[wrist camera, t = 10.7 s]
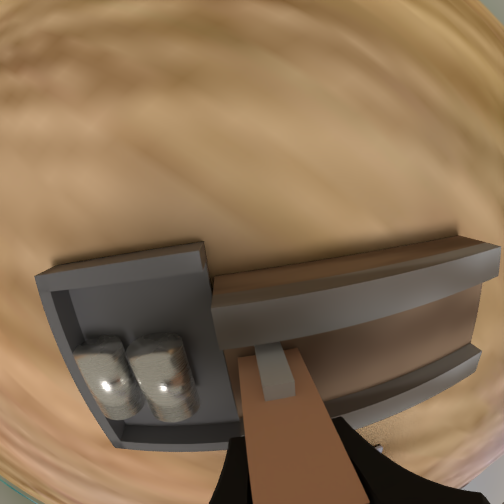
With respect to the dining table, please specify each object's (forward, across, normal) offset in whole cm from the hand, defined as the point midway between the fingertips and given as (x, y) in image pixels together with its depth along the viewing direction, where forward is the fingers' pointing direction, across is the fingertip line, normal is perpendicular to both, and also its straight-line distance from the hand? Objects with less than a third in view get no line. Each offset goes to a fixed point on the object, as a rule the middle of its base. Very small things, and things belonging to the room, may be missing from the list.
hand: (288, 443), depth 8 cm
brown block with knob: (+5, 0, 0) cm, 5 cm away
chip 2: (+6, +6, 0) cm, 8 cm away
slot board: (+8, -7, 0) cm, 10 cm away
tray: (+8, +7, 0) cm, 11 cm away
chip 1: (+6, +10, 0) cm, 11 cm away
